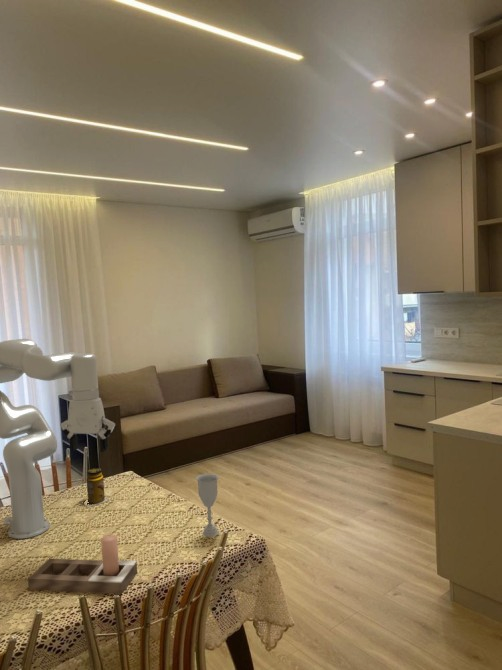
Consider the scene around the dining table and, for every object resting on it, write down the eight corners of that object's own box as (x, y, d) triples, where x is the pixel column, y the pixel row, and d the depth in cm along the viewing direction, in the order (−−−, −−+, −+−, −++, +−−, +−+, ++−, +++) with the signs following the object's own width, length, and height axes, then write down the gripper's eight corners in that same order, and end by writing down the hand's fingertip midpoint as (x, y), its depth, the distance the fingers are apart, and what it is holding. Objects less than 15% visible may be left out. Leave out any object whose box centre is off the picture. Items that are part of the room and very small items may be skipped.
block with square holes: (28, 589, 130) (27, 577, 130) (50, 568, 140) (49, 557, 140) (122, 594, 126) (121, 581, 125) (137, 572, 136) (136, 560, 135)
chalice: (194, 533, 156) (191, 478, 155) (210, 525, 161) (207, 472, 160) (210, 540, 151) (206, 483, 150) (226, 532, 156) (223, 476, 155)
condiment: (109, 500, 187) (106, 469, 186) (88, 507, 181) (85, 475, 180) (100, 495, 192) (97, 465, 191) (79, 502, 186) (76, 471, 186)
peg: (101, 586, 130) (98, 542, 129) (108, 577, 134) (105, 534, 133) (116, 586, 129) (112, 542, 128) (122, 578, 133) (119, 535, 132)
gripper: (52, 397, 146) (56, 453, 148) (106, 397, 143) (110, 455, 145) (65, 392, 154) (69, 446, 155) (118, 392, 151) (121, 447, 152)
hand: (89, 450), depth 150 cm, fingers open, 9 cm apart
